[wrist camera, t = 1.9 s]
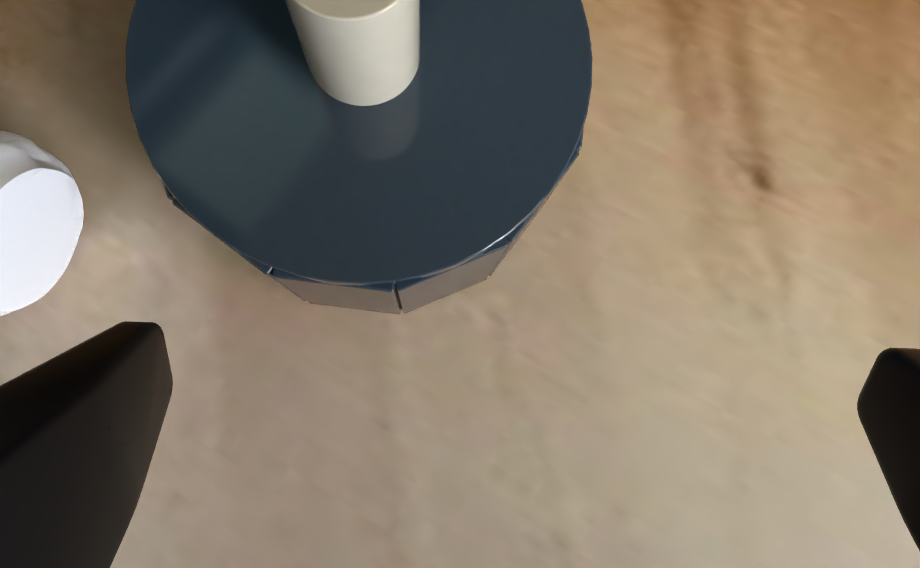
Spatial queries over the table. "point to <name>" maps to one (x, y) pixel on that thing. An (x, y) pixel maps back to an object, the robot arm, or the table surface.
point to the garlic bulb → (34, 221)
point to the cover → (361, 133)
